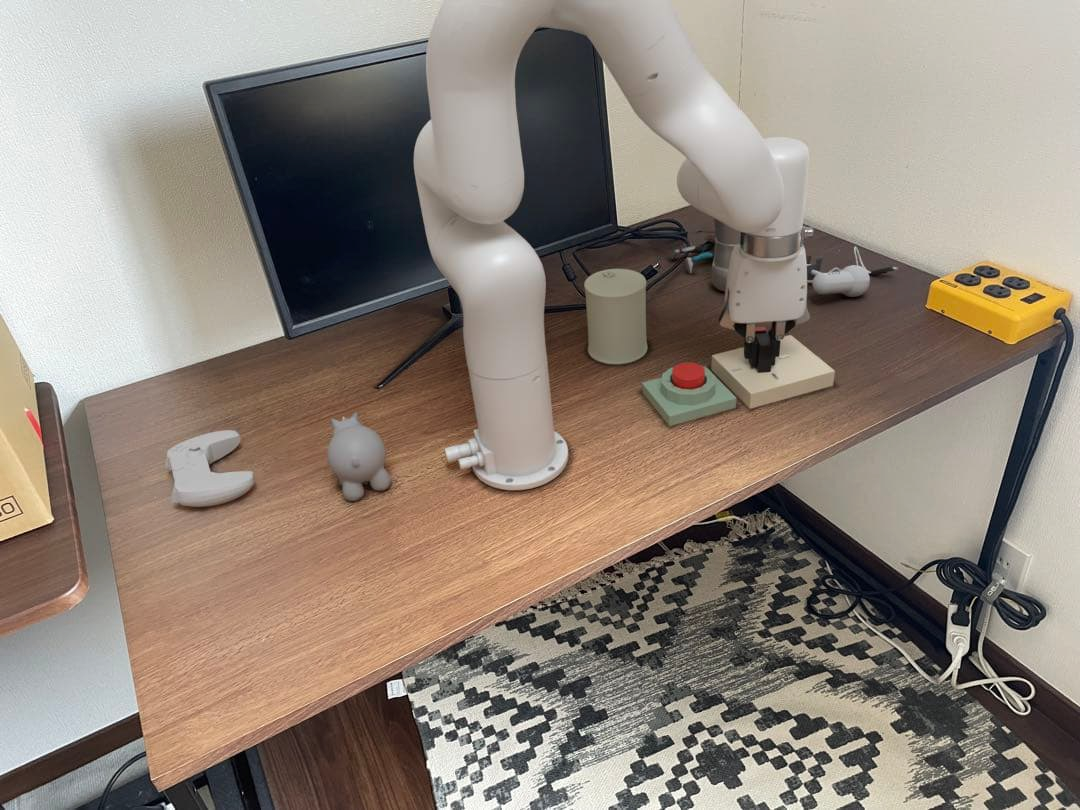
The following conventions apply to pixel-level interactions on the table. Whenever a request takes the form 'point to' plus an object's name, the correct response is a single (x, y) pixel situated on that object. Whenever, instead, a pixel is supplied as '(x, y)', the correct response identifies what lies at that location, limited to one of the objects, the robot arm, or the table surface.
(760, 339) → the knob
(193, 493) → the game controller
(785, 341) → the panel
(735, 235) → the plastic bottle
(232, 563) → the table surface
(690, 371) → the power button
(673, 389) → the power switch
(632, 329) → the can
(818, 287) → the clip-on lamp
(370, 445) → the chubby cartoon animal
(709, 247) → the action figure
